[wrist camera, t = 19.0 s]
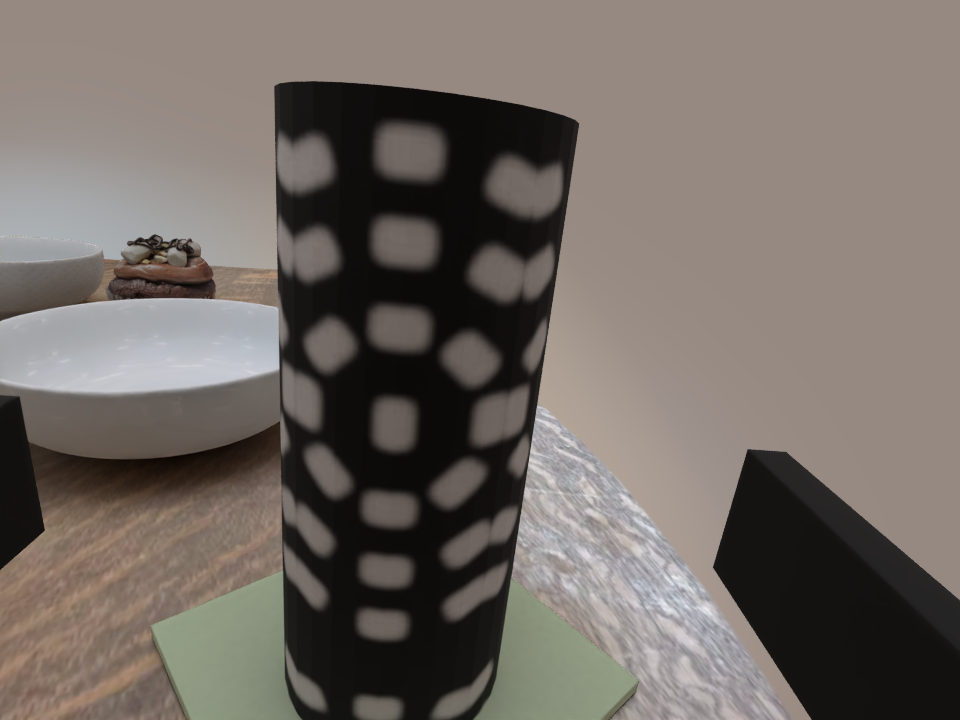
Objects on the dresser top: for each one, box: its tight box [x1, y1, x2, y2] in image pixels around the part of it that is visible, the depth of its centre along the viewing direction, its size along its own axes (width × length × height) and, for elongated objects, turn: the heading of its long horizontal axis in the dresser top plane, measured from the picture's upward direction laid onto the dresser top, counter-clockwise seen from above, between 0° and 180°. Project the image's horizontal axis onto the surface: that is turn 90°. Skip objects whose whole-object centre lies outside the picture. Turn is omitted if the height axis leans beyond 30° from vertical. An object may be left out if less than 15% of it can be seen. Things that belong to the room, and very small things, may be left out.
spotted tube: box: [274, 81, 579, 720], centre depth 19 cm, size 8×8×20 cm
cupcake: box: [106, 235, 216, 301], centre depth 55 cm, size 10×10×10 cm
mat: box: [151, 570, 639, 720], centre depth 22 cm, size 14×14×1 cm
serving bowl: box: [0, 298, 280, 459], centre depth 38 cm, size 21×21×7 cm
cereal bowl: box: [0, 236, 104, 321], centre depth 56 cm, size 17×17×7 cm
